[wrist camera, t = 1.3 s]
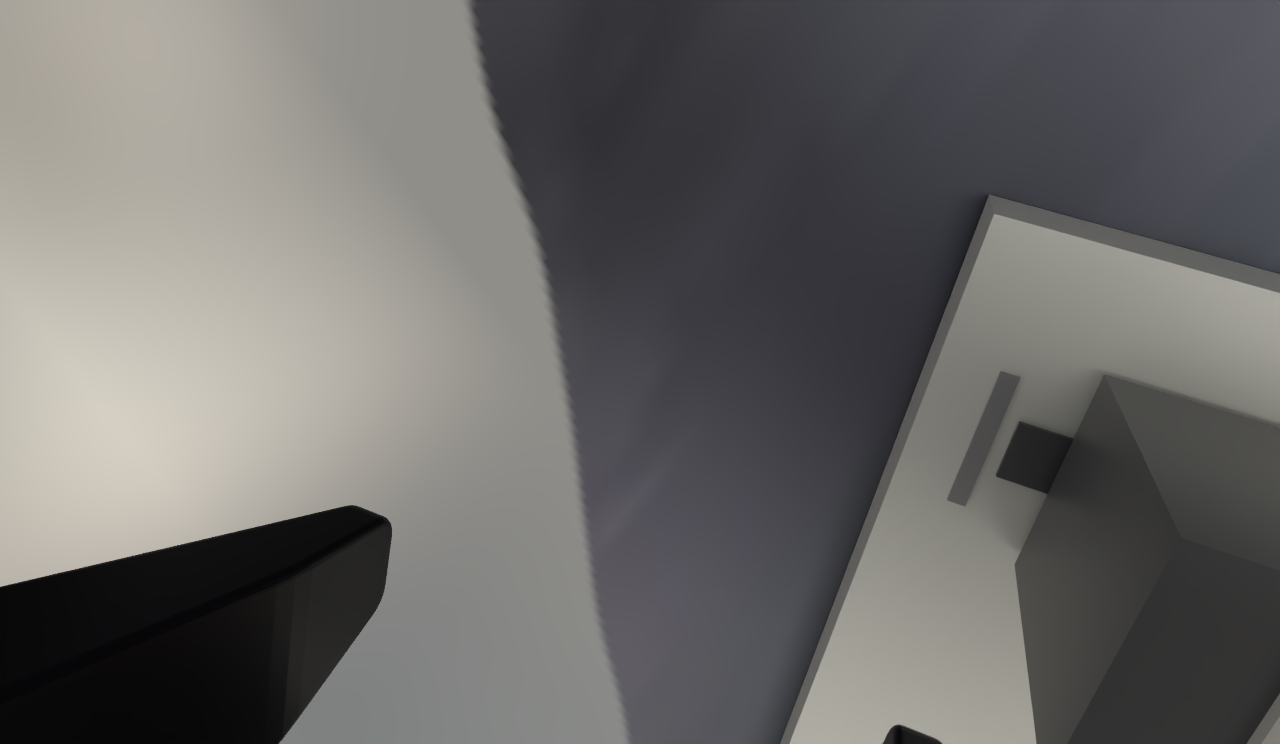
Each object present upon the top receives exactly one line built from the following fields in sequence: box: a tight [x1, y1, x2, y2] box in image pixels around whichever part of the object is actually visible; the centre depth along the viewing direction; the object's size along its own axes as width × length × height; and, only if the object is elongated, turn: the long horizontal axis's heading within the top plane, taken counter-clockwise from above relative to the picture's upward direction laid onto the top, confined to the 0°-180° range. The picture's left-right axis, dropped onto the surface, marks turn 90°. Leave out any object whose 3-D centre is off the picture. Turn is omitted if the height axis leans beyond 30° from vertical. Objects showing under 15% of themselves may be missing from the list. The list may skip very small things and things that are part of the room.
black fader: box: [1015, 374, 1280, 744], centre depth 11 cm, size 4×4×5 cm
